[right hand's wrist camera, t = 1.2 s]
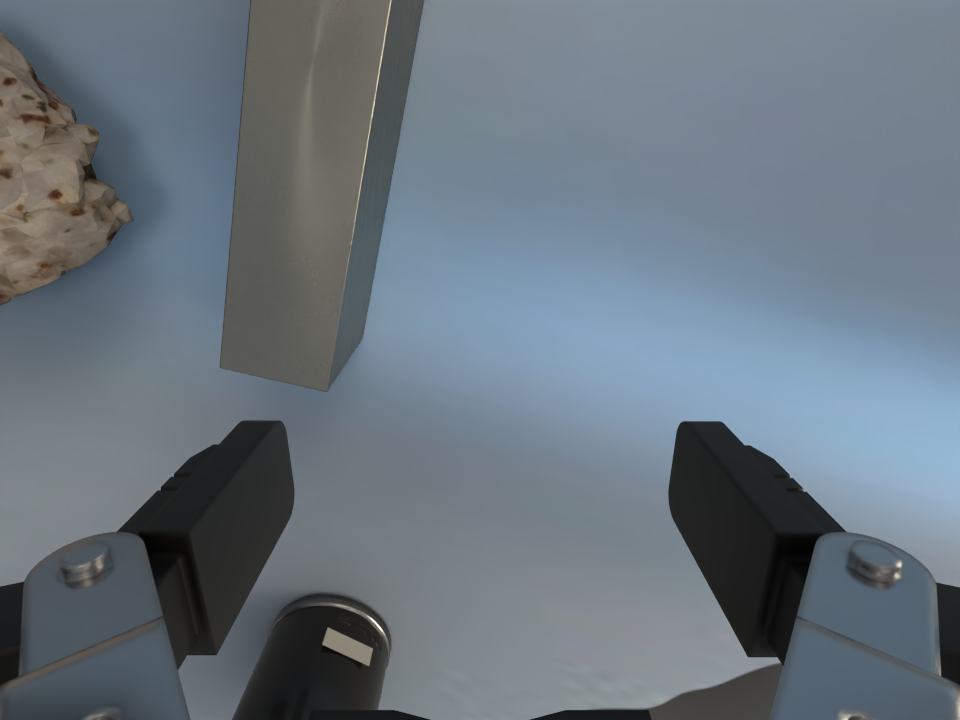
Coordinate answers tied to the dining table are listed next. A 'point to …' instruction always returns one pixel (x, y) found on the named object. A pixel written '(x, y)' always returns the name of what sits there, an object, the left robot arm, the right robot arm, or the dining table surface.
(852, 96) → the dining table surface
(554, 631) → the dining table surface
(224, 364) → the bar
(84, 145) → the rock
